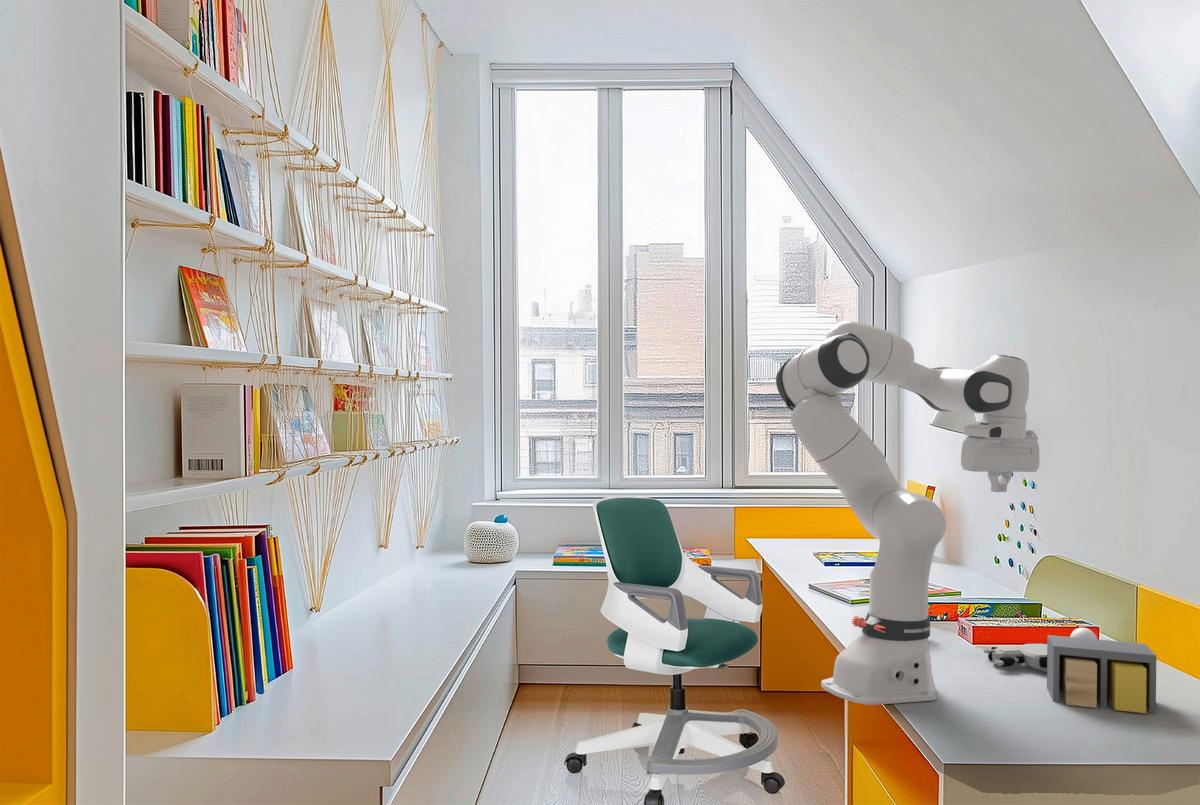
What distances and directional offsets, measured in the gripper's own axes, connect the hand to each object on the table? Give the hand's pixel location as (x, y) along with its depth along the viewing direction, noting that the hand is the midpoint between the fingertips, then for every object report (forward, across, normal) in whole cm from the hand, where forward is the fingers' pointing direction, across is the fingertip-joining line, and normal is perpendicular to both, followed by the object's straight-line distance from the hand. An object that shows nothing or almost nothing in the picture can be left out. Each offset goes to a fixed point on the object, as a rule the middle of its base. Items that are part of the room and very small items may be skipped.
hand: (998, 491), depth 200 cm
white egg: (+37, -26, +5) cm, 45 cm away
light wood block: (+35, +8, +29) cm, 46 cm away
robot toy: (+37, -2, +9) cm, 38 cm away
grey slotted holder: (+35, +3, +30) cm, 47 cm away
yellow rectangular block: (+35, +2, +35) cm, 49 cm away
